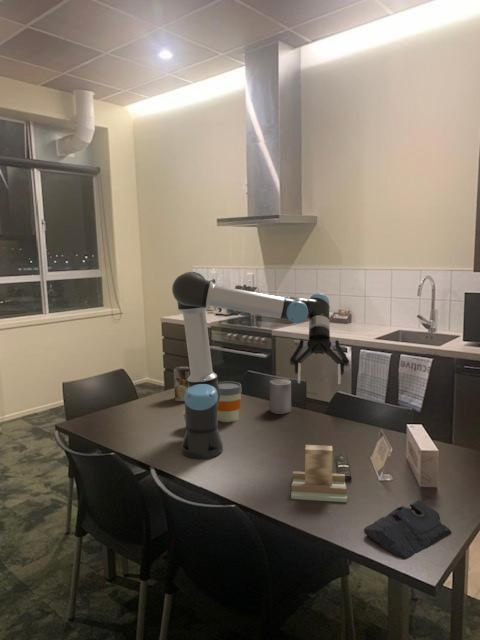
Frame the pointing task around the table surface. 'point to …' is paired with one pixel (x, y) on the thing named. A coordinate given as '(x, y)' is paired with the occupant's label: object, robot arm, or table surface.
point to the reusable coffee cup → (229, 401)
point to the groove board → (319, 489)
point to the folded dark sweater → (408, 530)
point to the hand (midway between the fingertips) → (319, 381)
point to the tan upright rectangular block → (318, 464)
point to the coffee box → (181, 381)
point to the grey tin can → (280, 396)
